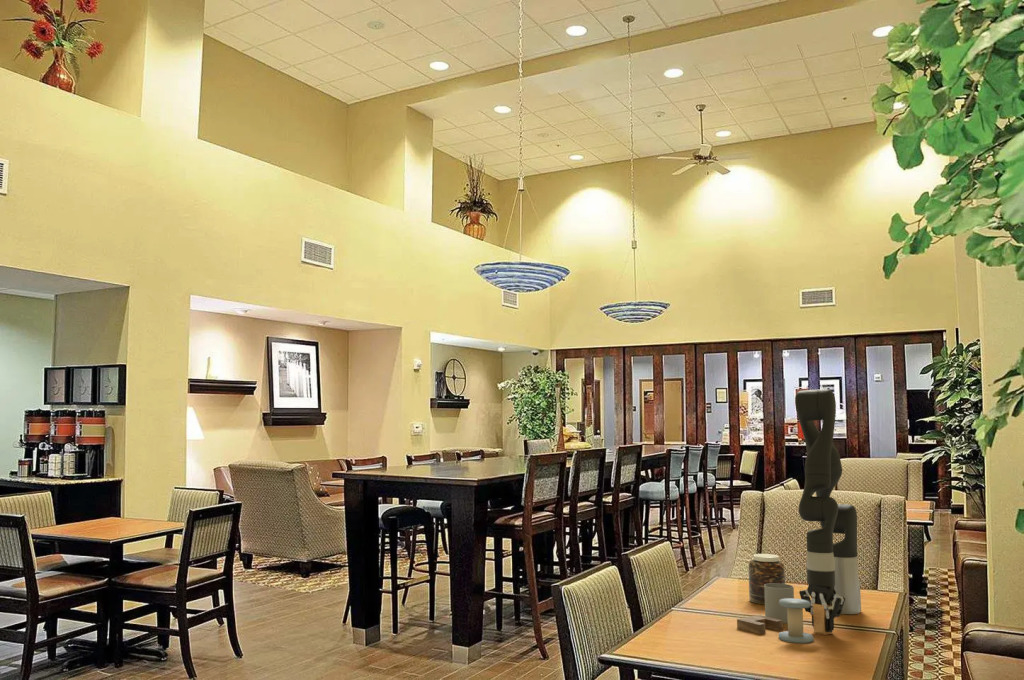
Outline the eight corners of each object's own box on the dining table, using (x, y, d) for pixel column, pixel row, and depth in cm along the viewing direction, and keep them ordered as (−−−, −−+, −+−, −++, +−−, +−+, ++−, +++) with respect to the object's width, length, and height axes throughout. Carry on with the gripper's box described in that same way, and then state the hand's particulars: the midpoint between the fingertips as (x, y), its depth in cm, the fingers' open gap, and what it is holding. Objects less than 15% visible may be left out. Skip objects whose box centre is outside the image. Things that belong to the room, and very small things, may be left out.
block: (821, 630, 233) (820, 601, 233) (832, 633, 230) (831, 604, 231) (814, 632, 231) (812, 603, 231) (824, 635, 228) (823, 605, 229)
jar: (790, 600, 273) (788, 554, 275) (781, 607, 263) (779, 559, 265) (754, 596, 280) (753, 551, 281) (744, 602, 270) (743, 556, 271)
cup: (796, 623, 241) (795, 589, 242) (767, 622, 243) (766, 587, 244) (792, 617, 249) (791, 583, 250) (764, 616, 251) (763, 582, 252)
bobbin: (792, 633, 230) (791, 596, 231) (820, 640, 222) (819, 602, 223) (771, 637, 225) (770, 600, 226) (799, 645, 217) (798, 606, 218)
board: (760, 623, 241) (759, 615, 241) (782, 629, 234) (782, 620, 235) (737, 628, 235) (736, 619, 236) (759, 634, 229) (759, 624, 229)
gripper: (851, 570, 228) (853, 633, 226) (807, 563, 240) (809, 623, 238) (834, 572, 224) (837, 637, 222) (791, 565, 236) (793, 627, 234)
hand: (823, 630), depth 230 cm, fingers closed on block, 3 cm apart
